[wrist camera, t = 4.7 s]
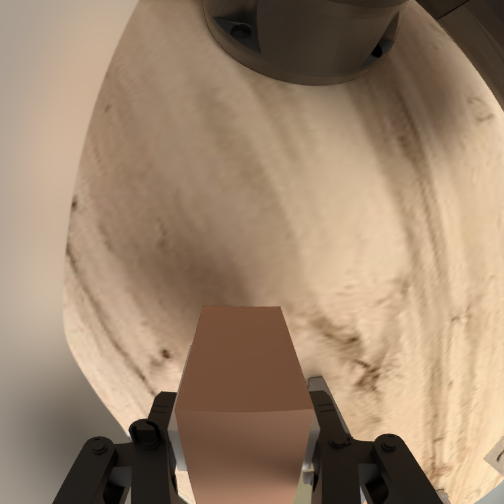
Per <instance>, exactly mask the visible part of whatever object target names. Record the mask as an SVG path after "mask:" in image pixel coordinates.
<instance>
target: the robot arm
mask: <svg viewBox="0 0 504 504" xmlns="http://www.w3.org/2000/svg"><path fill="white" fill-rule="evenodd" d="M415 1H417V2H418V3H419V4H420V5H421V6H422V7H423V8H424V9H425V10H426V11H427V12H428V13H429V14H430V15H431V16H432V17H433V18H434V19H435V21H436V22H437V23H438V24H439V25H440V26H441V27H442V28H443V30H444V31H445V32H446V33H447V34H448V35H449V36H450V37H451V39H452V40H453V41H454V42H455V43H456V44H457V46H458V47H459V48H460V49H461V51H462V52H463V53H464V54H465V56H466V57H467V58H468V59H469V61H470V62H471V63H472V65H473V66H474V67H475V69H476V70H477V71H478V73H479V74H480V76H481V77H482V79H483V80H484V81H485V83H486V84H487V86H488V87H489V89H490V90H491V92H492V93H493V95H494V97H495V98H496V100H497V101H498V103H499V105H500V106H501V108H502V110H503V111H504V0H415ZM407 2H408V0H203V6H204V13H205V19H206V22H207V25H208V27H209V30H210V32H211V34H212V35H213V37H214V38H215V40H216V41H217V42H218V43H219V45H220V46H221V47H222V48H223V49H224V50H225V51H226V52H227V53H228V54H230V55H231V56H232V57H233V58H235V59H236V60H237V61H239V62H240V63H242V64H244V65H245V66H247V67H249V68H251V69H252V70H255V71H257V72H259V73H261V74H263V75H266V76H269V77H271V78H274V79H278V80H281V81H285V82H289V83H295V84H301V85H312V86H323V85H334V84H340V83H344V82H348V81H351V80H354V79H356V78H358V77H360V76H362V75H364V74H365V73H367V72H368V71H369V70H371V69H372V68H373V67H374V66H375V65H377V64H378V63H379V62H380V61H381V60H382V59H383V58H384V57H385V56H386V55H387V54H388V52H389V51H390V50H391V48H392V46H393V44H394V42H395V39H396V36H397V33H398V30H399V27H400V24H401V21H402V18H403V14H404V11H405V8H406V5H407ZM191 347H192V345H190V349H189V352H188V356H187V359H186V363H185V366H184V370H183V374H182V377H181V381H180V385H179V388H178V392H177V393H176V392H164V391H161V392H160V393H159V394H158V395H157V396H156V397H155V399H154V402H153V405H152V407H151V410H150V413H149V416H148V419H139V420H137V421H135V422H133V423H132V424H131V425H130V427H129V433H130V436H131V439H132V441H133V442H130V443H125V444H113V442H112V441H111V440H110V439H108V438H106V437H100V436H99V437H93V438H91V439H89V440H88V441H87V442H86V443H85V444H84V446H83V448H82V450H81V451H80V453H79V455H78V457H77V459H76V460H75V462H74V464H73V466H72V468H71V469H70V471H69V473H68V475H67V477H66V479H65V480H64V482H63V484H62V486H61V488H60V490H59V492H58V494H57V496H56V497H55V499H54V501H53V503H52V504H124V503H125V500H126V497H127V494H128V492H129V489H130V487H131V504H179V497H178V489H177V480H176V475H175V468H176V465H177V469H178V470H181V471H187V467H186V463H185V458H184V454H183V450H182V445H181V441H180V436H179V431H178V426H177V421H176V416H175V410H174V409H175V405H176V401H177V398H178V394H179V390H180V386H181V383H182V379H183V375H184V372H185V368H186V365H187V361H188V357H189V354H190V350H191ZM309 394H310V397H311V400H312V403H313V406H314V413H313V418H312V423H311V428H310V433H309V438H308V443H307V448H306V452H305V457H304V461H303V466H302V470H306V469H310V468H311V464H313V468H314V472H313V476H312V479H311V482H310V485H312V493H311V504H361V493H360V487H361V490H362V492H363V494H364V497H365V499H366V501H367V504H443V502H442V501H441V499H440V497H439V496H438V494H437V493H436V491H435V489H434V488H433V486H432V485H431V483H430V481H429V480H428V478H427V477H426V475H425V473H424V472H423V470H422V469H421V467H420V466H419V464H418V463H417V461H416V459H415V458H414V456H413V455H412V453H411V452H410V450H409V449H408V447H407V445H406V444H405V442H404V441H403V440H402V439H401V438H400V437H399V436H397V435H395V434H383V435H380V436H378V437H377V438H376V439H375V441H374V442H373V441H359V440H356V439H353V437H352V436H351V435H350V434H348V433H346V432H345V430H344V428H343V426H342V423H341V421H340V418H339V416H338V413H337V411H336V409H335V406H334V405H333V401H332V399H331V396H330V395H328V394H327V393H326V392H325V391H324V390H319V391H309Z"/></svg>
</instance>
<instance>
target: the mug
mask: <svg viewBox="0 0 504 504" xmlns="http://www.w3.org/2000/svg"><path fill="white" fill-rule="evenodd" d="M436 493H437V494H438V496H439V497H440V499H441V501H442V502H443V504H451V503H450V501H449V500H448V494H447V493H444V491H443V490H437V491H436Z"/></svg>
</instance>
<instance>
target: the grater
mask: <svg viewBox="0 0 504 504" xmlns="http://www.w3.org/2000/svg"><path fill="white" fill-rule="evenodd" d="M503 450H504V436H503V437H502V438H501V440H500V441H499V442H498V443H497V444H496V445H495V446H494V448H493V449H492V450H491V451H490V452H489V453H488V454H487V455H486V456H485V457H484V458H483V459H484V460H485V461H486V462H488V463H489V464H490V465H491V466H492V467H493V468H495V469H496V470H497V471H498V472H499V473H500V474H502V475H503V476H504V453H503V454H502V455H501V456H500V458H499V459H498V460H496V459H497V457H498V455H499V454H500V453H501V452H502V451H503Z"/></svg>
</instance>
